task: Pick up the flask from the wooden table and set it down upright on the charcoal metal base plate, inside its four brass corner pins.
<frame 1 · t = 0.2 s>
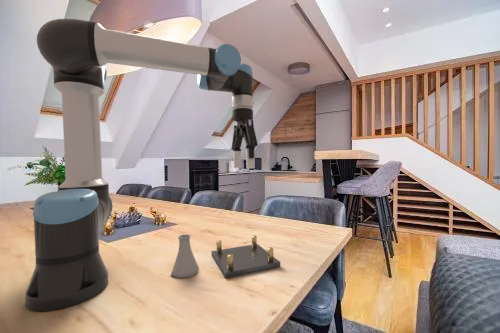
hand: (243, 168, 84), 28 cm above the table, tool pointing down, fingers open, 13 cm apart
flask: (185, 273, 63), on the table
pin plate: (243, 261, 69), on the table
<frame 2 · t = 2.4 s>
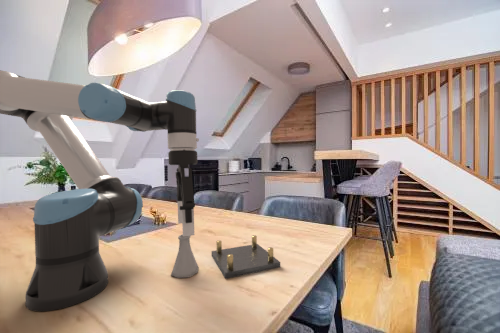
hand: (185, 228, 63), 12 cm above the table, tool pointing down, fingers open, 13 cm apart
nothing on the table moved.
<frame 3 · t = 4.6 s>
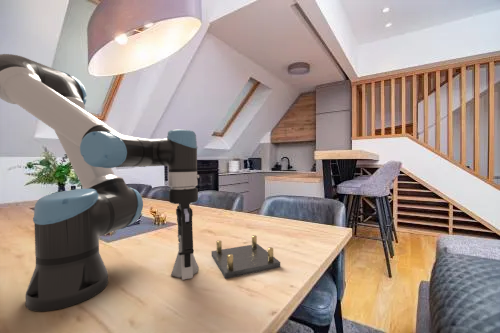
hand: (185, 271, 63), 0 cm above the table, tool pointing down, fingers closed on flask, 7 cm apart
flask: (185, 272, 63), on the table, touching gripper
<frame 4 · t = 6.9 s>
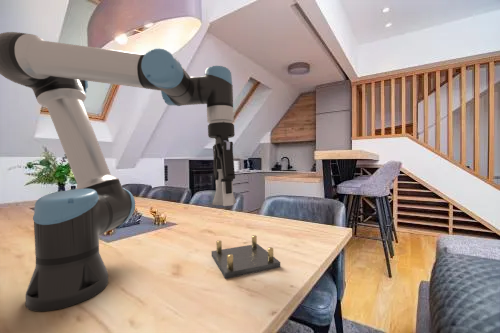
hand: (224, 203, 66), 18 cm above the table, tool pointing down, fingers closed on flask, 7 cm apart
flask: (224, 204, 66), point 18 cm above the table, touching gripper
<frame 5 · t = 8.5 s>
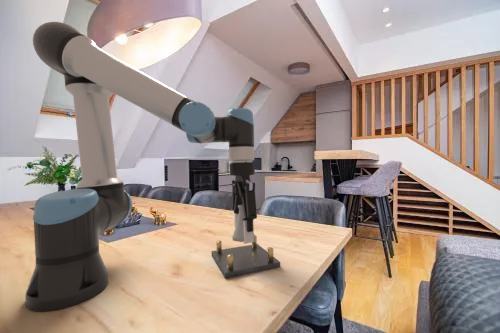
hand: (244, 238, 69), 7 cm above the table, tool pointing down, fingers closed on flask, 7 cm apart
flask: (243, 239, 69), point 7 cm above the table, touching gripper
when the fingers open (3 cm above the table, at t = 9.7 s): flask stays where it is, resting on pin plate.
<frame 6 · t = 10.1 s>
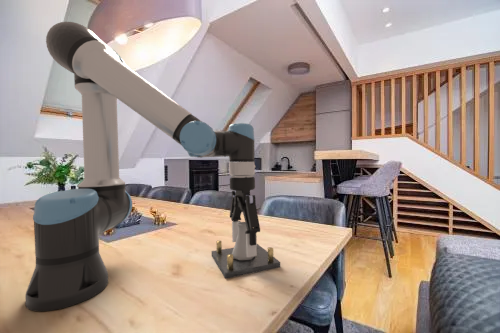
hand: (243, 248, 69), 4 cm above the table, tool pointing down, fingers open, 12 cm apart
flask: (243, 256, 69), point 1 cm above the table, touching pin plate
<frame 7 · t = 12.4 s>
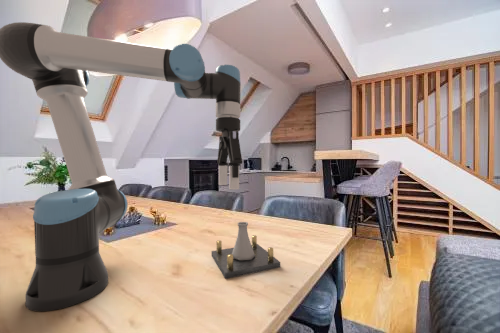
hand: (228, 187, 71), 22 cm above the table, tool pointing down, fingers open, 13 cm apart
nothing on the table moved.
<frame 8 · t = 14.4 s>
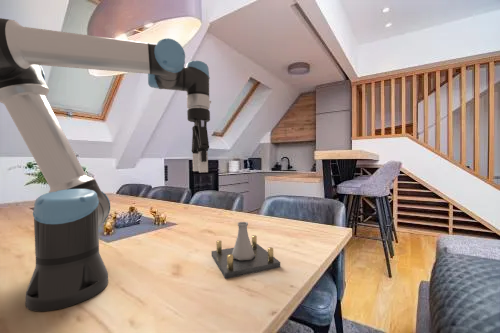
hand: (199, 171, 79), 27 cm above the table, tool pointing down, fingers open, 13 cm apart
nothing on the table moved.
at the end: flask 0.1 cm off-centre on the pin plate, point 1.3 cm above the pin plate's base; flask tilted 0°; the gripper is holding nothing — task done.
